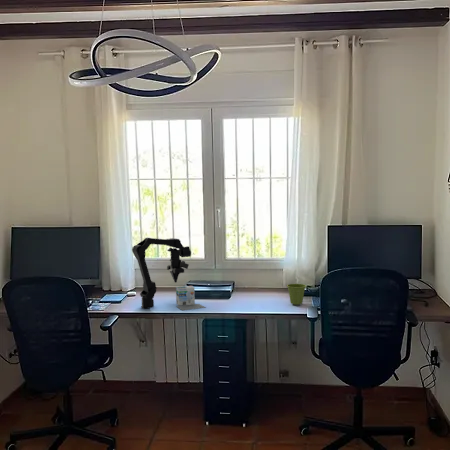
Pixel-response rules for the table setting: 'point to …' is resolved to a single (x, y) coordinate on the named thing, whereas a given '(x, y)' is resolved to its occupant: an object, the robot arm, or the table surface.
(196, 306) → the slate mat
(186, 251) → the robot arm
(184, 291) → the light bulb box
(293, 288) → the plant pot
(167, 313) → the table surface
